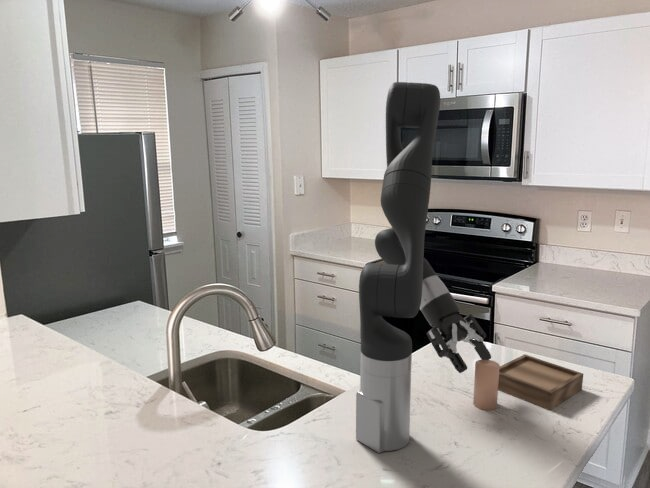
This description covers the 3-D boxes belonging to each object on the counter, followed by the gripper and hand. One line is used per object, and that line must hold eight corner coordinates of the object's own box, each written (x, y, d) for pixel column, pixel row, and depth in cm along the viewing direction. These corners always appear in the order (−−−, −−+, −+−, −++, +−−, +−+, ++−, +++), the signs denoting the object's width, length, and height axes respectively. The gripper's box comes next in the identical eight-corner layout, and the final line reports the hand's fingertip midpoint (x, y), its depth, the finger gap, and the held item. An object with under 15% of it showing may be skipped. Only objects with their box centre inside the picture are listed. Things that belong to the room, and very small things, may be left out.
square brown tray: (550, 410, 109) (551, 393, 108) (490, 386, 120) (491, 370, 119) (581, 389, 118) (583, 373, 117) (523, 369, 129) (524, 354, 128)
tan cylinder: (488, 412, 108) (490, 371, 107) (468, 403, 112) (470, 363, 110) (501, 405, 111) (504, 364, 110) (481, 396, 115) (484, 357, 113)
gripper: (423, 298, 112) (467, 367, 105) (464, 285, 121) (507, 348, 114) (403, 316, 117) (444, 382, 110) (444, 303, 126) (484, 364, 119)
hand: (476, 365), depth 112 cm, fingers open, 8 cm apart
